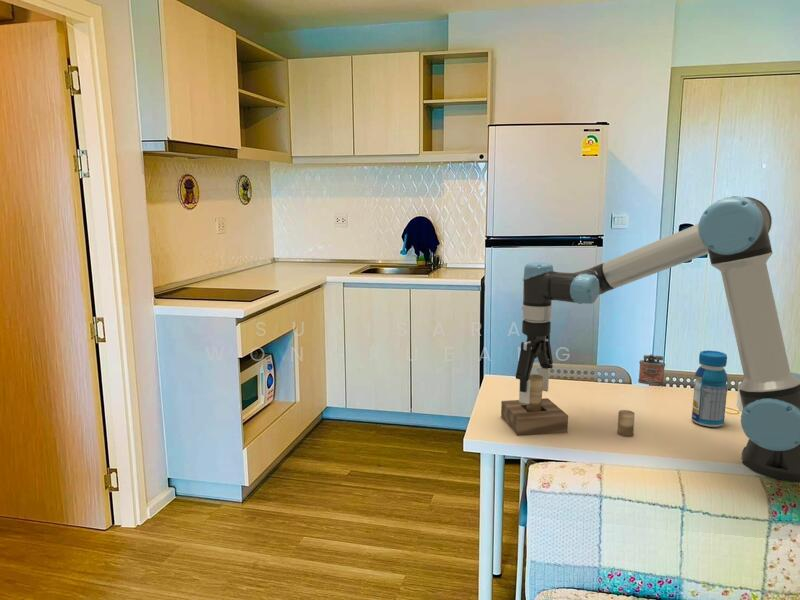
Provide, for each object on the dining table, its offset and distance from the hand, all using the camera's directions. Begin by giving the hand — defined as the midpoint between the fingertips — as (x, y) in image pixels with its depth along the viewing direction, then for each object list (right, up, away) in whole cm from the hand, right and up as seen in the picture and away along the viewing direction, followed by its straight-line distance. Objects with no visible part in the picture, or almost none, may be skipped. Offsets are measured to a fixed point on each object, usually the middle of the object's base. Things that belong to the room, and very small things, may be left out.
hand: (534, 396), depth 163 cm
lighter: (+48, -2, +37) cm, 61 cm away
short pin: (+23, -9, -5) cm, 26 cm away
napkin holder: (+67, -6, +17) cm, 69 cm away
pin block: (0, -8, +1) cm, 8 cm away
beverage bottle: (+49, -8, +3) cm, 50 cm away
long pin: (0, -8, +1) cm, 8 cm away
